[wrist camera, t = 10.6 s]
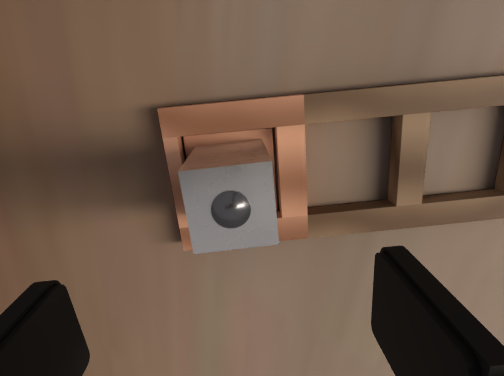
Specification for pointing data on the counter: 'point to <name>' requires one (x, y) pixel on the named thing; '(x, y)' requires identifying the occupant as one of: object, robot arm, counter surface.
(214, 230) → the steel plug
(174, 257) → the counter surface
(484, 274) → the counter surface
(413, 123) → the rail
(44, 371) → the robot arm
